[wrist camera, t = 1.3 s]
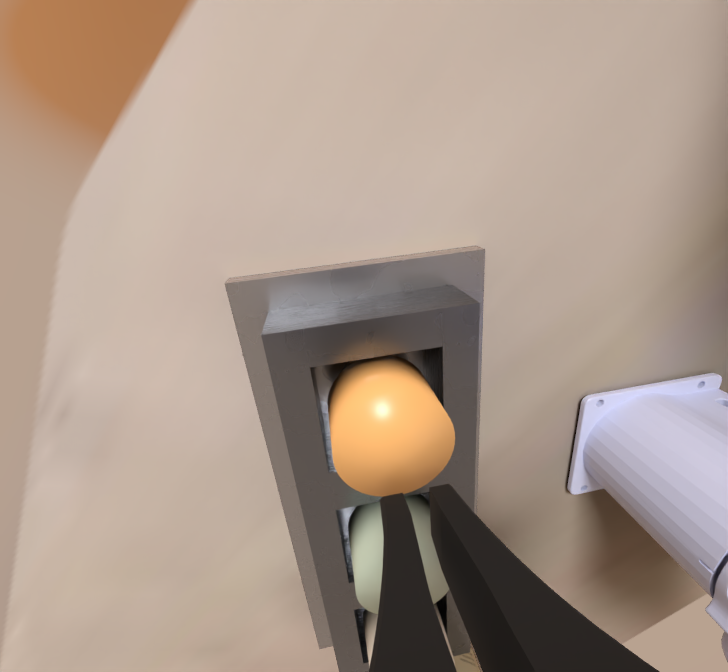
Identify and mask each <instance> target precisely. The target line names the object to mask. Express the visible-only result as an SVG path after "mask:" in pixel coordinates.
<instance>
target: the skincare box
mask: <svg viewBox="0 0 728 672" xmlns="http://www.w3.org/2000/svg"><path fill="white" fill-rule="evenodd" d="M453 658H454V661H455V668H456V671H457V672H480V669H479V666H478V663H477V660H476V658H475V654H474V652H473V650H472V649H471V648H470V653H465V654H461V655H457V656H453Z"/></svg>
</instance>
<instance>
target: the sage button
mask: <svg viewBox="0 0 728 672" xmlns="http://www.w3.org/2000/svg"><path fill="white" fill-rule="evenodd" d="M405 500H406V502H407V504H408V507H409V510H410V512H411V515H412V519H413V524H414V528H415V532H416V536H417V540H418V545H419V549H420V553H421V558H422V562H423V566H424V570H425V575H426V579H427V583H428V587H429V591H430V594H431V598H432V601H433V604H435V603H436V602H437V601H439V600H440V599H441V598H442V597H443V596H444V595H445V594H446V593H447V592H448V591H449V587H448V584H447V582H446V579H445V577H444V574H443V572H442V569H441V566H440V563H439V559H438V556H437V553H436V550H435V546H434V543H433V539H432V536H431V522H430V503H429V502H428V501H427V499H426V498H425V497H424V496H422V495H421V494H415V495H410V496H405ZM348 533H349V541H350V549H351V558H352V566H353V574H354V582H355V590H356V596H357V599H358V601H359V603H360V604H361V605H362V606H363V607H364V608H365V609H366V610H368V611H370V612H372V613H374V614H378V610H379V602H380V591H381V581H382V569H383V545H384V536H383V525H382V517H381V508H380V502H375V503H369V504H364V505H359V506H357V507H356V508H355V509H354V511H353V512H352V514H351V516H350V518H349V522H348Z"/></svg>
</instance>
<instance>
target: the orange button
mask: <svg viewBox="0 0 728 672" xmlns="http://www.w3.org/2000/svg"><path fill="white" fill-rule="evenodd" d="M327 405H328V416H329V426H330V436H331V446H332V456H333V463H334V466H335V469H336V471H337V473H338V475H339V476H340V478H341V479H342V480H343V481H344V482H345V483H346V484H347V485H349V486H350V487H351V488H353V489H355V490H356V491H359V492H361V493H364V494H367V495H372V496H380V497H383V496H388V495H393V494H398V493H403V494H406V493H409V492H412V491H414V490H417V489H419V488H421V487H423V486H424V485H426V484H428V483H429V482H430V481H432V480H433V479H434V478H435V477H436V476H437V475H439V473H440V472H441V471H442V470H443V469H444V468H445V466H446V465H447V463H448V461H449V460H450V458H451V455H452V453H453V450H454V445H455V431H454V427H453V424H452V421H451V419H450V418H449V416H448V414H447V413H446V411H445V410H444V408H443V406H442V405H441V403H440V402H439V400H438V398H437V397H436V395H435V393H434V392H433V390H432V389H431V387H430V385H429V384H428V382H427V381H426V379H425V377H424V376H423V374H422V373H421V371H420V370H419V369H418V368H417V367H416V366H415V365H414V364H412V363H411V362H409V361H408V360H406V359H403V358H401V357H398V356H394V355H386V356H380V357H373V358H367V359H361V360H357V361H355V362H353V363H352V364H350V365H349V366H347V367H346V368H345V369H344V370H343V371H342V372H341V373H340V374H339V375H338V376H337V377H336V379H335V380H334V382H333V384H332V386H331V388H330V391H329V395H328V402H327Z"/></svg>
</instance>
